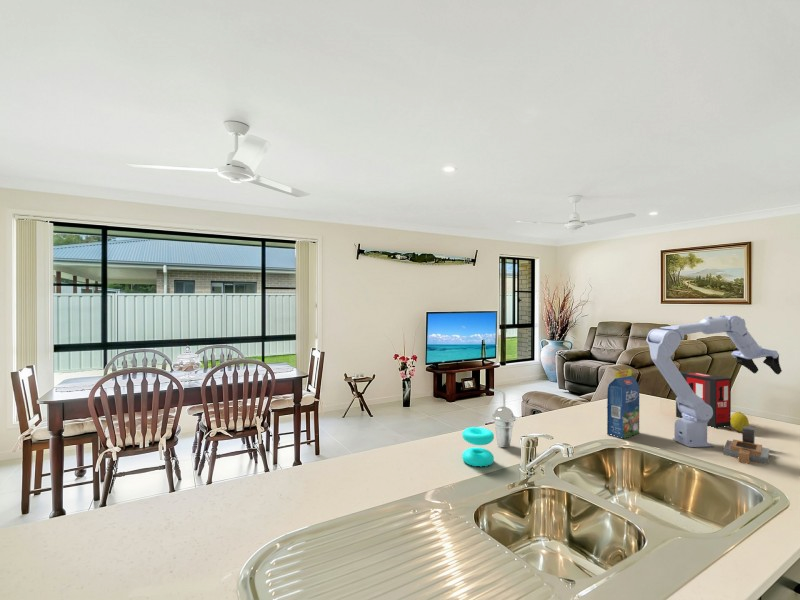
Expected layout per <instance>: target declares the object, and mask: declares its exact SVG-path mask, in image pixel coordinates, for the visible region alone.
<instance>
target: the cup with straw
mask: <svg viewBox="0 0 800 600" xmlns="http://www.w3.org/2000/svg"><path fill="white" fill-rule="evenodd" d="M489 391H491V392H495V393H498V394H502V396H503V398H502V399H503V401H502V404H503V405H502V406H500V407H499V406H498V408H496V409H495V410H494V413H492V416H491V419H492V420H493V424H494V426H495V427H494V428H495V436H496V442H497V445H498V446H497V447H499V446H500V447H499V448H501V447H509V448H510V447H511V443H512V437H513V427H514V423H515V422H516V421H517V416H515V414H514V412H513V410H512V409H511V408H509V407H507V406H506V393H505V392H504V391H501V390H497V389H494V388H489Z"/></svg>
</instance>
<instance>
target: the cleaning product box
mask: <svg viewBox="0 0 800 600" xmlns="http://www.w3.org/2000/svg"><path fill="white" fill-rule="evenodd" d="M679 372H680V373H681V374H682V376H683V377H684V379H685V380H686V382H687V383H688V385H689V386H690V388H691V389H692V390H693V392H694V393H695V394H696V395H697V396H699V397H700V398H701V399H703V401H704V402H705V403H706V404H708V405H710V406H711V407H712V409H713V416H712V418H711V419H710V420H709V422H707V427H709V426H711V427H710V428H712V427H714V428H713V429H719V428H718V427H722V428H725V427H724V426H729V427H732V426H731V423H730V419H731V416H732V415H731V411H732V409H731V408H732V406H731V403H732V398H731V396H732V392H731V391H732V390H731V389H732V388H731V387H732V379H731V377H724V376H719V375H715V374H714V375H713V374H708V373H702V372H697V371H692V370H690V371H679ZM676 398H677V396H676V395H675V399H676ZM675 417H676V418H678V419H681V418H682V417H683V416H682V413H681V412H680V411H679V409H678V404H677V402H676V401H675Z"/></svg>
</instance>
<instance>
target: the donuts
mask: <svg viewBox="0 0 800 600" xmlns="http://www.w3.org/2000/svg"><path fill="white" fill-rule="evenodd" d="M494 438H495V435H494V432H493V431H492V430H490V429H488V428H486V427H481V426H472V427H471V426H470V427H467V428H465V429H464V430H463V431H462V439H464V441H465V442H466V443H468V444H471V445H475V446H476V447H475V446H473V447H468V448H467V449H465V450H464V451H463V452H462V457H461V458H462V460H463V461H464V463H465V464H467V465H469V466H471V465H472V467H476V466H480V467H479V468H483V467H482V466H485V467H488V465H489V466H491V465H492V464H493V463H494V459H495V458H494V454H493V453H492V452H491V451H490V450H488V449H486V448H483V447H478V446H486V445H489V444H491V443H492V442H493V440H494Z"/></svg>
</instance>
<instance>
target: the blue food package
mask: <svg viewBox="0 0 800 600" xmlns="http://www.w3.org/2000/svg"><path fill="white" fill-rule="evenodd" d="M614 373H615V374H614V379H613V380H612V381H611V382H610V383H609V384H608V387H607V395H606V397H607V400H606V403H607V404H606V405H607V410H606V412H607V413H606V414H607V415H606V416H607V417H606V421H607V423H606V425H607V426H606V427H607V428H606V430H607V431H606V434H607V435H608V434H612V435H615V436H618V437H622V438H624V439H627V438H629V436H630V437H633V436H632V435H634V436H635V434H636V435H637V434H640V387H639V382H637V380H636V379H635V377H634V376H633V375H632V374H633V369H632V368H629V369H623V370H616V371H615V372H614ZM626 437H627V438H626Z"/></svg>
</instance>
